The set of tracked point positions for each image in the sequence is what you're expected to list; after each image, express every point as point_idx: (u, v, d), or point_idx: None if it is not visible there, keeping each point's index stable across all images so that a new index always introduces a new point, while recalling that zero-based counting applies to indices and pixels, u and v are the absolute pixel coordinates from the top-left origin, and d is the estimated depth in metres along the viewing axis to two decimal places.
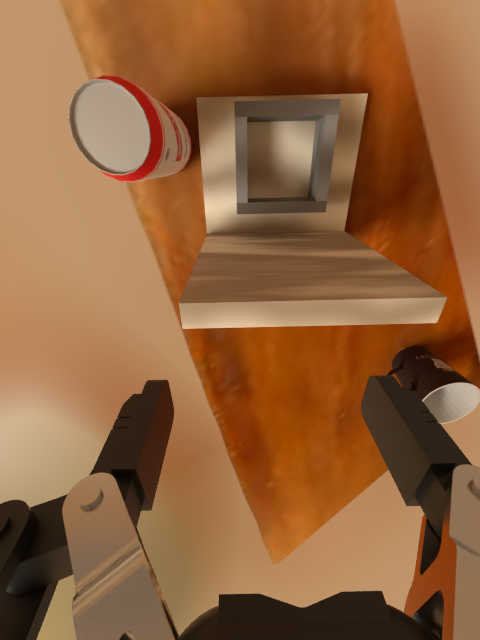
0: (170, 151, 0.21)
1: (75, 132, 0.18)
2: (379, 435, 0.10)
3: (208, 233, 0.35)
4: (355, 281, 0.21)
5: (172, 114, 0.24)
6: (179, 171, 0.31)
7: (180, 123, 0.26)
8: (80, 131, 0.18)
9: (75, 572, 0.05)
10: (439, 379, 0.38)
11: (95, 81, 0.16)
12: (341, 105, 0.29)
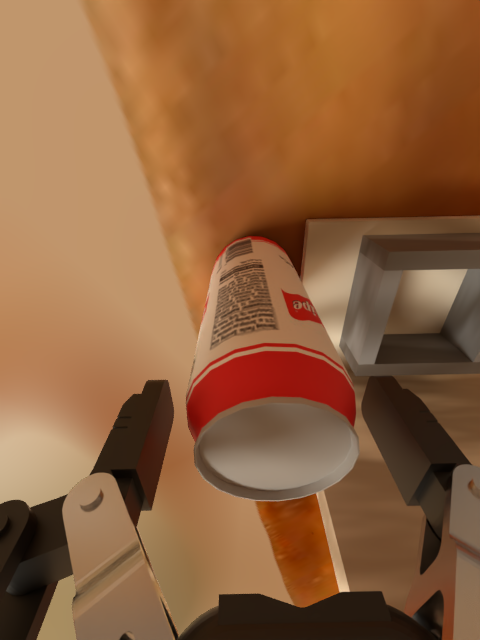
0: None
1: (200, 453, 0.09)
2: (379, 435, 0.10)
3: None
4: None
5: (302, 285, 0.15)
6: None
7: None
8: (211, 452, 0.09)
9: (75, 572, 0.05)
10: None
11: (269, 400, 0.07)
12: None
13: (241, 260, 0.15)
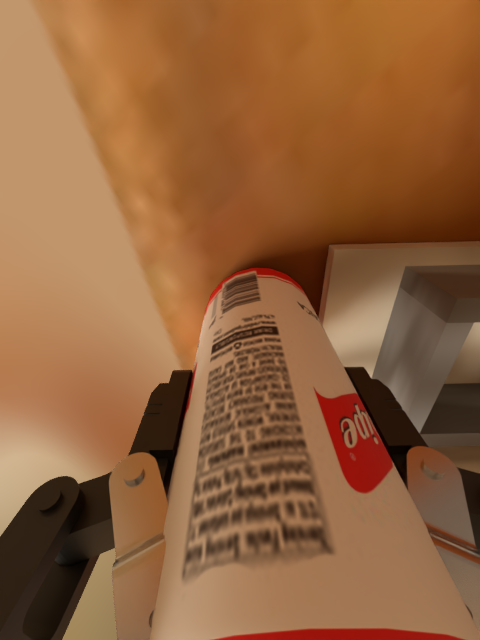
0: None
1: None
2: None
3: None
4: None
5: (336, 355, 0.10)
6: None
7: (327, 336, 0.12)
8: None
9: (116, 540, 0.06)
10: None
11: None
12: None
13: (244, 314, 0.10)
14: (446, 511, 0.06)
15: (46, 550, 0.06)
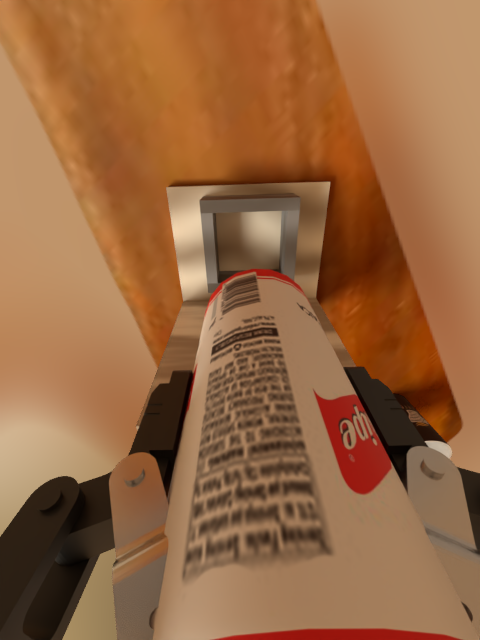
0: None
1: None
2: None
3: (184, 301, 0.36)
4: None
5: (335, 356, 0.10)
6: None
7: None
8: None
9: (116, 540, 0.06)
10: None
11: None
12: (305, 192, 0.30)
13: (244, 315, 0.11)
14: (445, 510, 0.06)
15: (46, 550, 0.06)
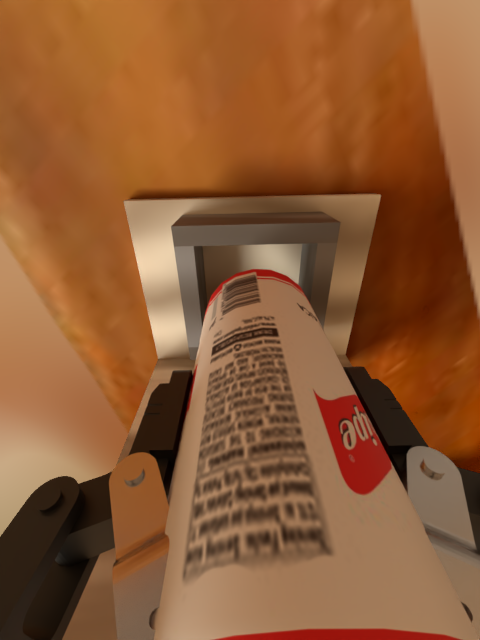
0: None
1: None
2: None
3: (160, 358, 0.26)
4: None
5: (335, 356, 0.10)
6: None
7: None
8: None
9: (116, 541, 0.06)
10: None
11: None
12: (341, 210, 0.19)
13: (244, 316, 0.11)
14: (446, 510, 0.06)
15: (46, 550, 0.06)
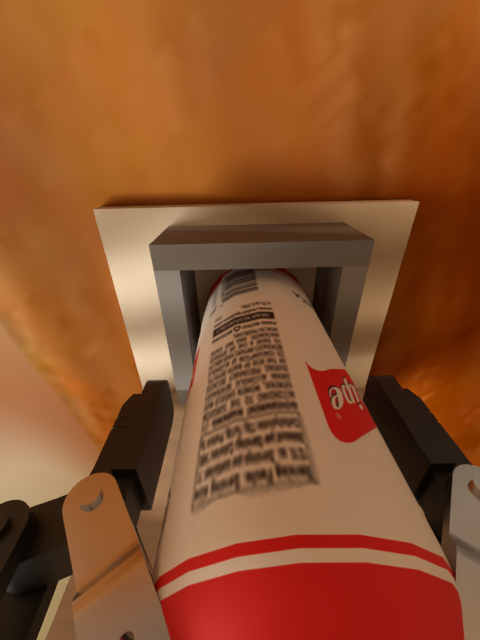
0: None
1: None
2: None
3: None
4: None
5: (328, 338, 0.11)
6: None
7: (321, 323, 0.13)
8: None
9: (75, 572, 0.05)
10: None
11: None
12: (368, 220, 0.15)
13: (243, 302, 0.11)
14: None
15: None
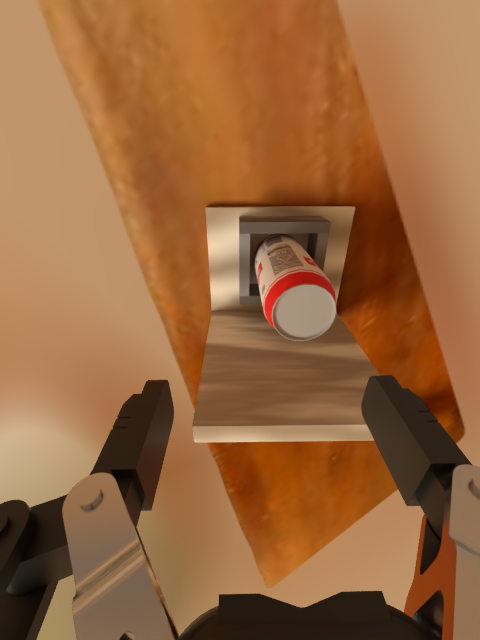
0: None
1: (273, 313, 0.22)
2: (379, 435, 0.10)
3: (213, 310, 0.39)
4: (340, 396, 0.25)
5: None
6: None
7: None
8: (277, 313, 0.22)
9: (75, 572, 0.05)
10: None
11: (303, 285, 0.20)
12: (332, 215, 0.33)
13: (277, 244, 0.29)
14: None
15: None
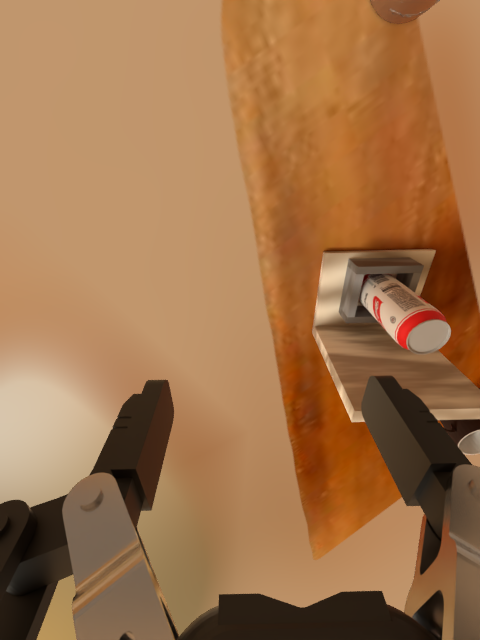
0: None
1: None
2: (379, 435, 0.10)
3: (315, 326, 0.51)
4: (443, 390, 0.36)
5: None
6: None
7: None
8: (410, 337, 0.33)
9: (75, 573, 0.05)
10: (473, 424, 0.54)
11: (432, 320, 0.32)
12: (418, 256, 0.44)
13: (387, 283, 0.40)
14: None
15: None
